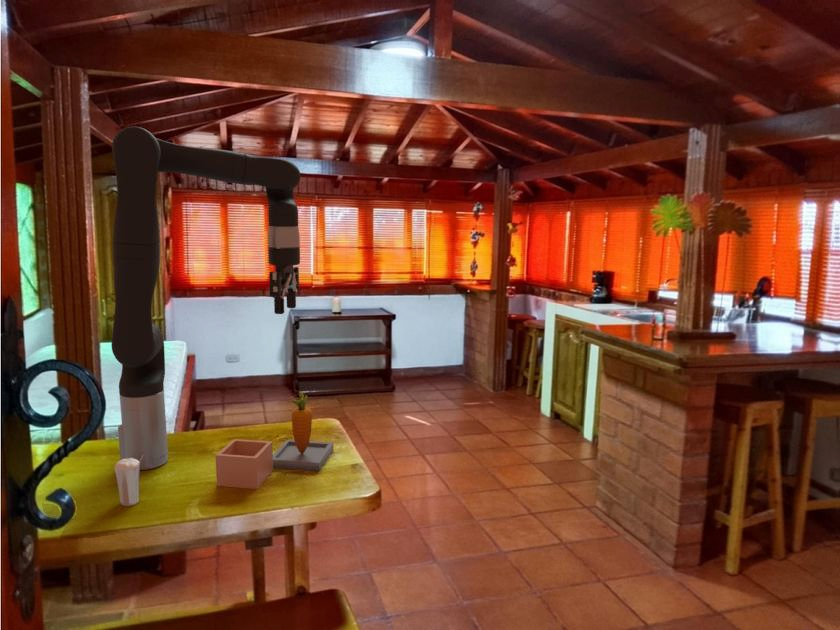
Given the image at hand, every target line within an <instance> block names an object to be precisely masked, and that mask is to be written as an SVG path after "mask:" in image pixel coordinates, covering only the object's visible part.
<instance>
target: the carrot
mask: <svg viewBox="0 0 840 630" xmlns="http://www.w3.org/2000/svg"><path fill="white" fill-rule="evenodd" d="M298 395H299V400H296V399H294V398H292V399H291V402H292V403H294V404H296V406H297V407H295V408H294V409H292V412H291V429H292V436H293V440H294V441H295V444H296V447H297V449H298V450H299V452H300V453H301V454H303V453H304V452H305V450H306V448H307V446H308V444H309V441H311V440H310V439H311V434H312V423H313V421H312V418H313V417H312V415H313V412H312V409H311V408H309V407H306V404H307V401H308V396H307V395H304V393H303V392H301V391H300V392H299V393H298Z"/></svg>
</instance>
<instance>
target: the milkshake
mask: <svg viewBox="0 0 840 630" xmlns="http://www.w3.org/2000/svg"><path fill="white" fill-rule="evenodd" d="M142 457H143V456H142ZM142 457H141V459H142ZM140 462H141V460H140ZM140 462H139V461H138V460H137V459H133V458H127V459H122V460H120V459H119V460H118V461H117V462H116V464H115V465H114V471H115V476H116V477H115V478H116V482H117V487H118V494H119V499H120V501H119V502H120V505H121V506H123V507H132V506H134V505H136V504H137V503H139V497H140V471H141V470H140Z"/></svg>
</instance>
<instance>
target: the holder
mask: <svg viewBox="0 0 840 630" xmlns="http://www.w3.org/2000/svg"><path fill="white" fill-rule="evenodd" d="M273 449H274V448H273V441H267V440H252V439H237V438H233V439H232V440H231V441H230V442H229V443H228V444H226V446H224V447H223V448H222V449H221V450H220V451H218V453H216V454H215V470H216V471H215V473H216V486H217V487H228V488H241V489H253V490H258V489H259V488H260V487H261V485H262V484H263V483H264V482H266V480H267V478H268V477H269V476H270V475H271V474H272V473H273V472H274V468H273V454H274V452H273Z"/></svg>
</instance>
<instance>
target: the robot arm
mask: <svg viewBox="0 0 840 630" xmlns="http://www.w3.org/2000/svg"><path fill="white" fill-rule="evenodd" d="M111 151H112V154H113V155H112V156H113V159H114V160H113V161H114V167H115V176H116V177H115V178H116V188H117V189H116V190H117V192H116V194H117V195H116V196H117V197H116V203H115V204H116V205H115V210H114V211H115V212H114V221H113V230H112V255H113V257H112V261H113V286H114V288H113V289H114V300H115V301H114V305H115V306H114V317H113V318H114V319H113V328H112V334H111V335H112V336H111V350H112V351H111V352H112V354H113V356H114V358H115V359H116V361H117V362H118V363H120V365H121V375H120V378H119V383H118V392H119V404H120V416H121V417H120V418H121V424H120V425H118V427H117V433H118V448H119V461H120V460H122V459H127V458H133V459H137V460H138V461H139V462H140V460H141V462H140V471H145V470H151V469H155V468H158V467H160V466H163V465H164V464H166V463H167V462H168V460H169V451H168V436H167V434H168V433H167V420H166V417H167V415H166V403H165V402H166V401H165V400H166V399H165V385H164V382H165V375H166V366H165V365H166V359H165V341H164V336H163V333H162V331H161V329H160V328H159V327H158V326H157V325H156V324H155V323H153V318H152V317H153V316H152V315H153V314H152V312H153V311H152V308H153V307H152V306H153V305H152V303H153V299H154V294H155V289H156V285H157V282H158V275H159V270H160V265H161V264H160V263H161V240H160V239H161V237H160V236H161V235H160V225H159V223H160V222H159V214H158V213H159V212H158V206H157V181H158V173H172V174H173V173H175V174H182V175H190V176H193V177H194V176H195V177H199V178H204V179H208V180H214V181H220V182H224V183H231V184H238V185H242V186H243V185H244V186H260V187H264V188H265V192H266V199H267V200H266V201H267V204H268V213H267V214H268V233H267V248H268V249H267V251H268V252H267V253H268V264H269V265H270V266H275V270H273V271H269V297H272V298H273V300H274V301H273V303H274V305H273V306H274V314H275V315H283V314H285V299H284V298H285V295H286V308H288V309H296V307H297V292H298V291H299V290H300V277H299V276H300V272H299V271H300V270H299V266H298V265H300V263H301V242H300V241H301V237H300V229H299V208H298V205H297V204H296V201H295V195H294V189H295V188H296V187H297V186H298V185H299V183H300V182H301V172H300V169H299V167H298V166H297V165H296V164H295V163H294V162H292V161H290V160H287V159H281V158H276V157H275V158H273V157H264V156H255V155H251V154H247V153H242V152H237V151H231V150H225V149H220V148H218V149H216V148H208V147H207V148H206V147H199V146H198V147H195V146H188V145H181V144H178V143H172V142H169V141H165V140H162V139H160V138H156V137H155V135H153V134H152V133H151V132H150V131H149V130H147V129H145V128H143V127H140V126H127V127H124V128H123V129H121V130H119V131H118V132H117V133H116V134H115V136H114V137H113V139H112V142H111ZM142 456H143V457H142ZM141 457H142V459H141Z"/></svg>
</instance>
